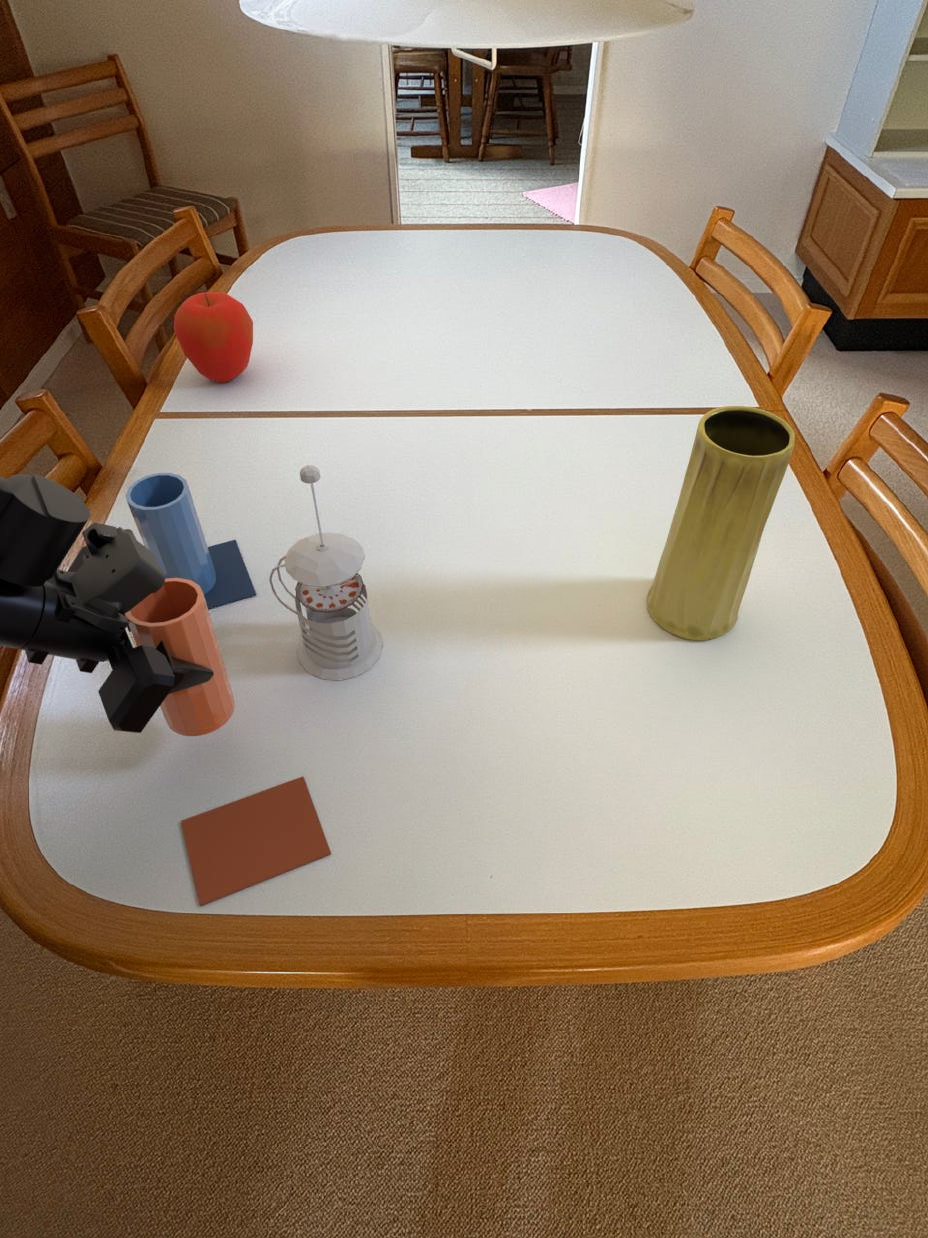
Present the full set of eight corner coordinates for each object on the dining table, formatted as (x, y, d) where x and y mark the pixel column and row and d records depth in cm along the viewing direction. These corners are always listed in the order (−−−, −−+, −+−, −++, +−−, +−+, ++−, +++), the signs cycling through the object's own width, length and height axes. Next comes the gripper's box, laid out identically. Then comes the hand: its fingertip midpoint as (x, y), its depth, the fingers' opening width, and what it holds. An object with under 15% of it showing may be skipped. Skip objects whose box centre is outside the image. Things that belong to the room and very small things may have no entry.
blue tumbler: (166, 607, 94) (130, 516, 84) (157, 572, 98) (121, 481, 88) (221, 591, 96) (193, 500, 85) (210, 557, 100) (181, 466, 89)
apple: (270, 387, 128) (253, 302, 118) (195, 402, 125) (172, 316, 115) (253, 351, 136) (236, 269, 125) (183, 365, 133) (160, 282, 122)
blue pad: (138, 630, 92) (137, 628, 91) (124, 570, 98) (124, 569, 98) (256, 595, 95) (256, 594, 95) (235, 540, 102) (235, 539, 102)
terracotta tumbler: (160, 739, 74) (116, 629, 65) (172, 689, 79) (132, 580, 70) (231, 733, 75) (196, 622, 66) (238, 684, 80) (207, 575, 71)
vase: (755, 614, 93) (827, 436, 75) (695, 656, 89) (755, 477, 71) (687, 565, 99) (738, 388, 81) (627, 602, 95) (667, 424, 76)
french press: (362, 690, 86) (335, 510, 67) (266, 664, 88) (215, 484, 70) (395, 627, 92) (379, 447, 74) (306, 604, 94) (268, 425, 76)
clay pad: (200, 906, 69) (200, 905, 69) (181, 821, 75) (181, 820, 75) (331, 854, 73) (331, 853, 72) (303, 777, 78) (303, 776, 78)
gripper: (108, 609, 53) (285, 652, 65) (49, 468, 64) (211, 527, 76) (31, 726, 56) (214, 746, 68) (-12, 571, 67) (153, 613, 79)
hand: (198, 650), depth 73 cm, fingers closed on terracotta tumbler, 7 cm apart
